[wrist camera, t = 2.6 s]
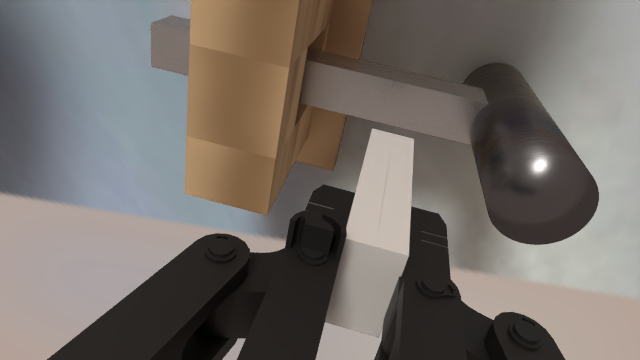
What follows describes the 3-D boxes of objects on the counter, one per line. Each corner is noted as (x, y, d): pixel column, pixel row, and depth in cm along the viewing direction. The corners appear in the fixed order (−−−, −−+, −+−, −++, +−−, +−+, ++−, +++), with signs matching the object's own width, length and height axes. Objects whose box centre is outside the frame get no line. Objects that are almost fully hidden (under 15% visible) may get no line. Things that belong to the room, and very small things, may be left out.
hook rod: (196, 53, 28) (70, 126, 18) (199, -7, 27) (60, 35, 16) (511, 129, 27) (569, 255, 17) (537, 71, 25) (619, 172, 15)
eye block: (222, 133, 31) (145, 217, 22) (241, -103, 24) (137, -120, 15) (335, 162, 31) (302, 259, 22) (389, -71, 24) (371, -69, 15)
